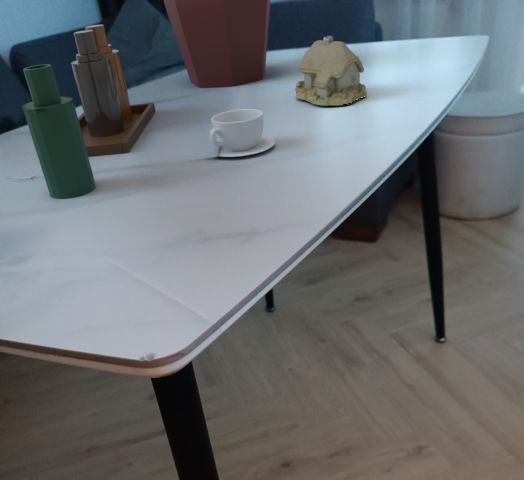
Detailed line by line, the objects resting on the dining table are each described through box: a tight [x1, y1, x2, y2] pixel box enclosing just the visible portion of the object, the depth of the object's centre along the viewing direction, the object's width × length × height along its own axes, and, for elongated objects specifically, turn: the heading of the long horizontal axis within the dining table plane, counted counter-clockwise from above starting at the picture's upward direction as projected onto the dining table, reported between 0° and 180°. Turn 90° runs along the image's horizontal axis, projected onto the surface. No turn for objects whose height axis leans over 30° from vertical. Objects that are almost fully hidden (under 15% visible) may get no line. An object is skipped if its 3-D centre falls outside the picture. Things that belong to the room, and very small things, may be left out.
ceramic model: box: [294, 35, 367, 106], centre depth 104 cm, size 14×11×10 cm
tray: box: [78, 102, 156, 158], centre depth 99 cm, size 13×26×2 cm, turn 0°
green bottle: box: [22, 63, 97, 199], centre depth 74 cm, size 6×6×15 cm
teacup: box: [208, 108, 276, 158], centre depth 85 cm, size 10×10×5 cm
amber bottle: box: [84, 24, 133, 123], centre depth 101 cm, size 6×6×15 cm
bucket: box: [163, 0, 271, 89], centre depth 124 cm, size 24×22×25 cm
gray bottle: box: [70, 29, 126, 137], centre depth 95 cm, size 6×6×15 cm
